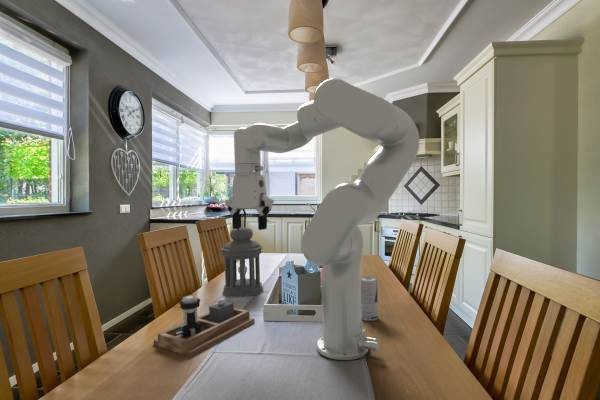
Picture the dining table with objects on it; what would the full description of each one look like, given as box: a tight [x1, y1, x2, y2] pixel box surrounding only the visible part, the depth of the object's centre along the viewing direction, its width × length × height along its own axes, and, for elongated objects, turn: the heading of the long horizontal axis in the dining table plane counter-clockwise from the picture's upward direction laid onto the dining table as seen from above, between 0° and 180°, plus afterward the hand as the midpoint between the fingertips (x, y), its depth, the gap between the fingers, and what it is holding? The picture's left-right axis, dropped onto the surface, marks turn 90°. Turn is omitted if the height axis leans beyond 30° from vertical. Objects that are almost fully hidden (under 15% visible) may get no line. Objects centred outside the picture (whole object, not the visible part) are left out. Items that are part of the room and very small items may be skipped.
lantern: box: [220, 209, 264, 298], centre depth 133 cm, size 17×17×35 cm
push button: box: [176, 294, 201, 338], centre depth 89 cm, size 7×5×10 cm
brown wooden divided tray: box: [153, 307, 255, 358], centre depth 94 cm, size 14×24×3 cm, turn 149°
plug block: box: [208, 298, 235, 323], centre depth 98 cm, size 4×6×7 cm, turn 149°
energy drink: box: [361, 276, 379, 322], centre depth 101 cm, size 5×5×12 cm
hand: (249, 228), depth 99 cm, fingers open, 9 cm apart
